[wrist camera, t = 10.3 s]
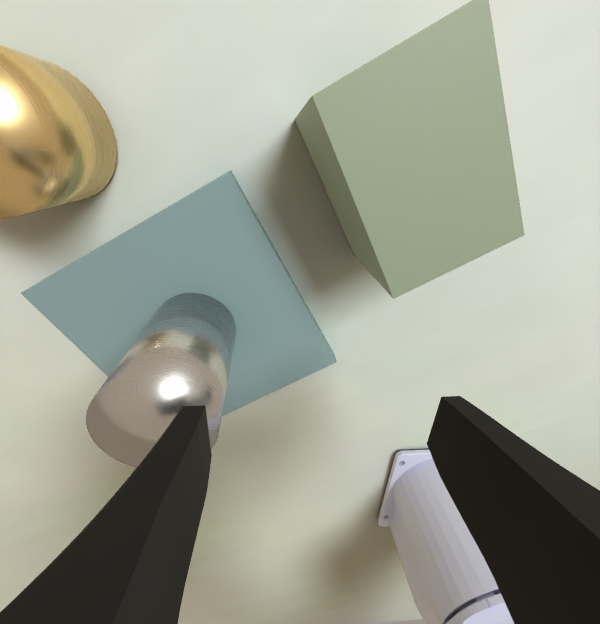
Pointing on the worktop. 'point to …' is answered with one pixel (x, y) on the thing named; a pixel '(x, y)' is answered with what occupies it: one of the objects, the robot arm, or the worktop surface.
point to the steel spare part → (165, 377)
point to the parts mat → (191, 291)
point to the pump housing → (419, 153)
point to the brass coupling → (49, 137)
